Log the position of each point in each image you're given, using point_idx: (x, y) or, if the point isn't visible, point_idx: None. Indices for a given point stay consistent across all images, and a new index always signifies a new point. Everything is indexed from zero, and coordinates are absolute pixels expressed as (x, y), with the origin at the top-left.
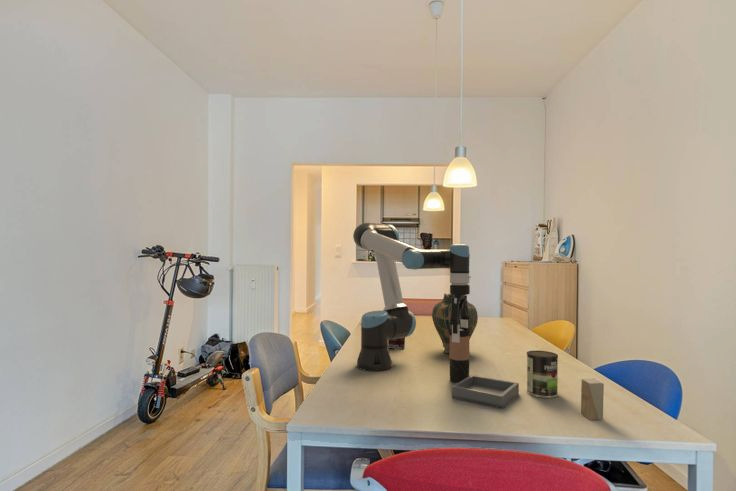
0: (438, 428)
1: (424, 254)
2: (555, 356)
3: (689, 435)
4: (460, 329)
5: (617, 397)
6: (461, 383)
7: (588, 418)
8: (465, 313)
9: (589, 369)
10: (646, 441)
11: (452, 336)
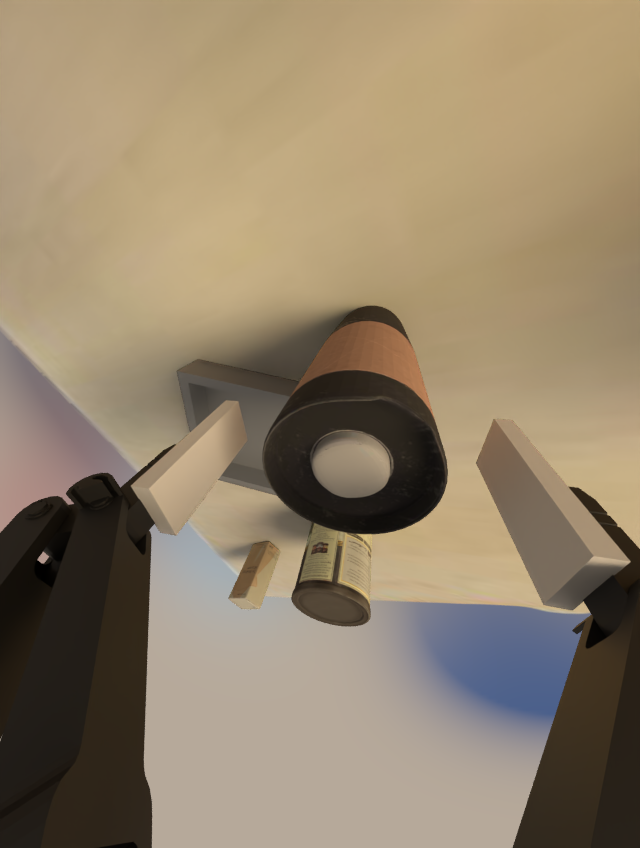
0: (53, 373)
1: None
2: (313, 618)
3: (269, 593)
4: (353, 480)
5: (373, 588)
6: (222, 389)
7: (255, 544)
8: (554, 729)
9: (581, 610)
10: (228, 565)
11: (205, 422)
